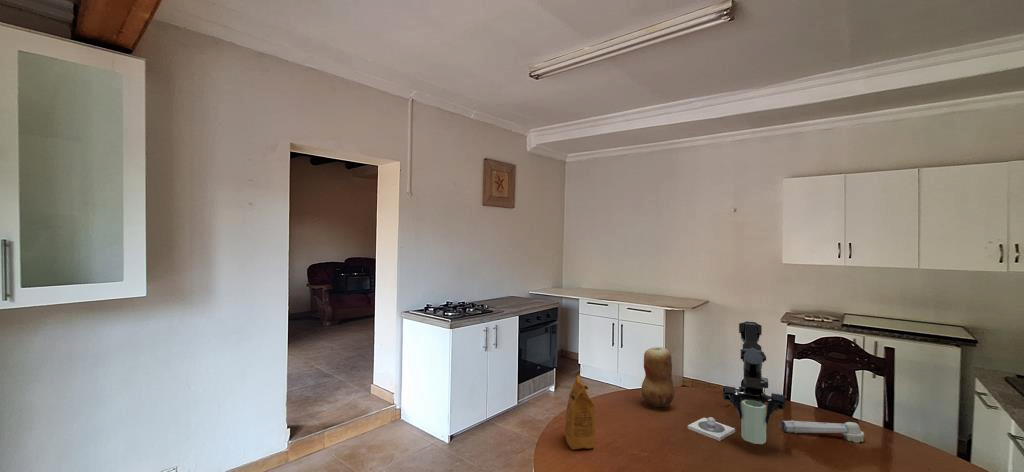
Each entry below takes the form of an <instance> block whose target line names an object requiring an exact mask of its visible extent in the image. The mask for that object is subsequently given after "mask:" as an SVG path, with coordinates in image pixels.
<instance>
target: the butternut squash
mask: <svg viewBox="0 0 1024 472" xmlns="http://www.w3.org/2000/svg"><path fill="white" fill-rule="evenodd" d="M643 369H644V374H645V375H644V379H643V381H642V383H641V389H640V391H641V396H642V397H643V399H644V400H645V401H646V402H647V403H649V404H650V405H651V406H653V407H655V408H661V407H663V408H666V407H668V406H670V404H671V403H672V402H673V401H674V399H675V392H676V391H675V387H674V383H673V378H672V377H673V374H672V372H673V363H672V353H670V351H669V350H668V349H667V348H666V347H658V346H655V347H650V348H647V349H646V350H645V351H644V354H643Z"/></svg>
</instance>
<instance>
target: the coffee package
mask: <svg viewBox="0 0 1024 472" xmlns="http://www.w3.org/2000/svg"><path fill="white" fill-rule="evenodd" d="M582 382H583V378H582V377H581V376H580V375H577V376H576V378H575V380H574V383H573V385H572V388H571V389H570V393H569V395H568V402H567V406H566V412H565V428H564V429H565V430H564V431H565V441H566V444H567V445H568V446H569V447H570V450H580V449H592V448H593V449H594V448H595V439H596V432H597V429H596V428H597V427H596V410H595V408H596V407H595V404H594V402H593V401H592V399H591V398H590V396H589V395H588V393H587V390H589V386H587V385H586V384H585V383H584V384H583V383H582Z"/></svg>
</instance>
